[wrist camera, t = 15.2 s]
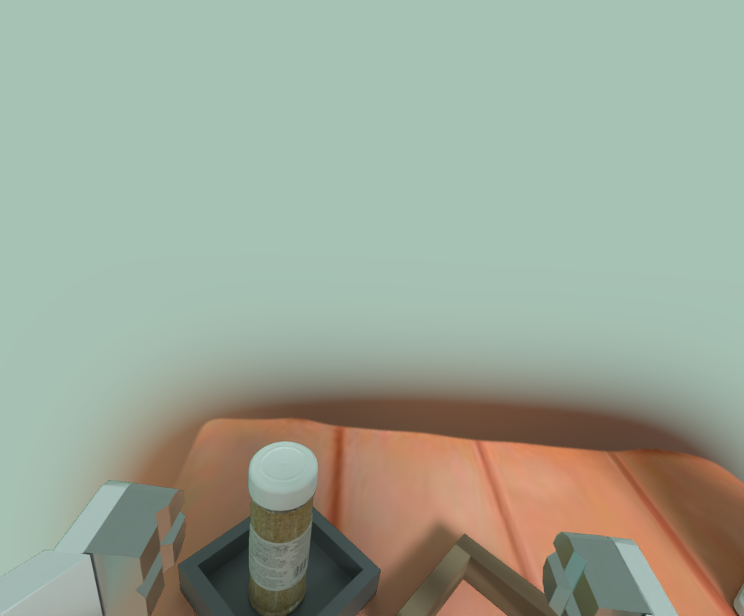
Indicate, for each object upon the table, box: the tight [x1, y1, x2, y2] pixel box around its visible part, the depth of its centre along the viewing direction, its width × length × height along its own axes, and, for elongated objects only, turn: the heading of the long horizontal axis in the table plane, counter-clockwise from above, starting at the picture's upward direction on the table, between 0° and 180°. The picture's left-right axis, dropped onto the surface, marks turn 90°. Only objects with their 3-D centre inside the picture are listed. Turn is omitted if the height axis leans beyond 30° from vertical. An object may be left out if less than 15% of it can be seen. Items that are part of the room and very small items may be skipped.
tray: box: [178, 506, 381, 616], centre depth 35 cm, size 11×11×3 cm
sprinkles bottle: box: [248, 441, 318, 616], centre depth 32 cm, size 5×5×14 cm
